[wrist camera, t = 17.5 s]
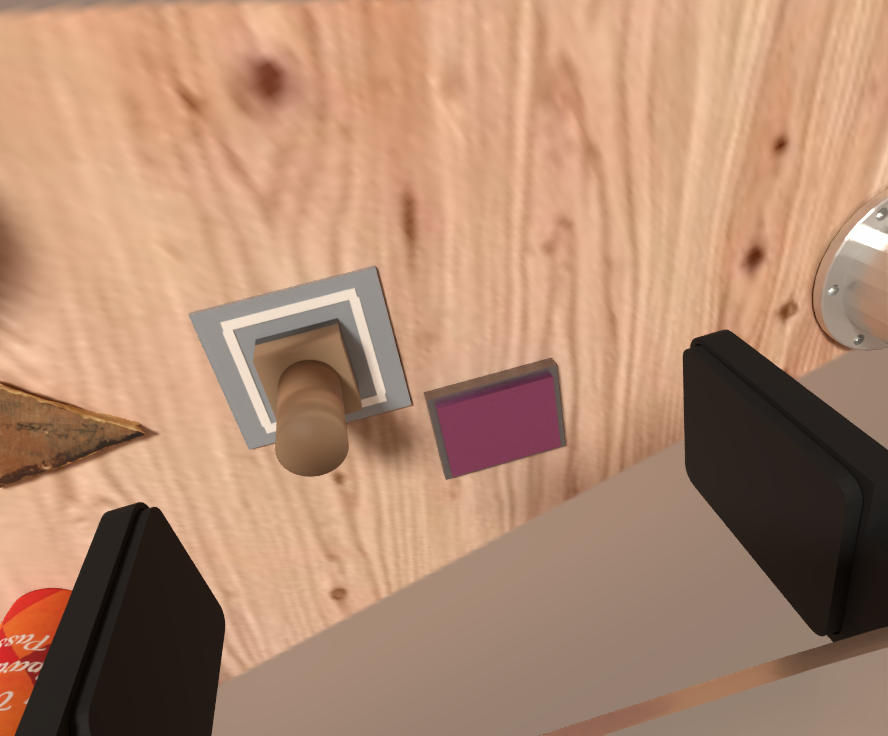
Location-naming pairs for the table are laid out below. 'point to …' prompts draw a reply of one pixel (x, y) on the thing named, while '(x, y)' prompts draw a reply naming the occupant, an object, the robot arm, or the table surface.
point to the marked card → (249, 319)
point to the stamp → (309, 395)
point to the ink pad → (497, 418)
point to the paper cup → (26, 649)
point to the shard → (51, 434)
